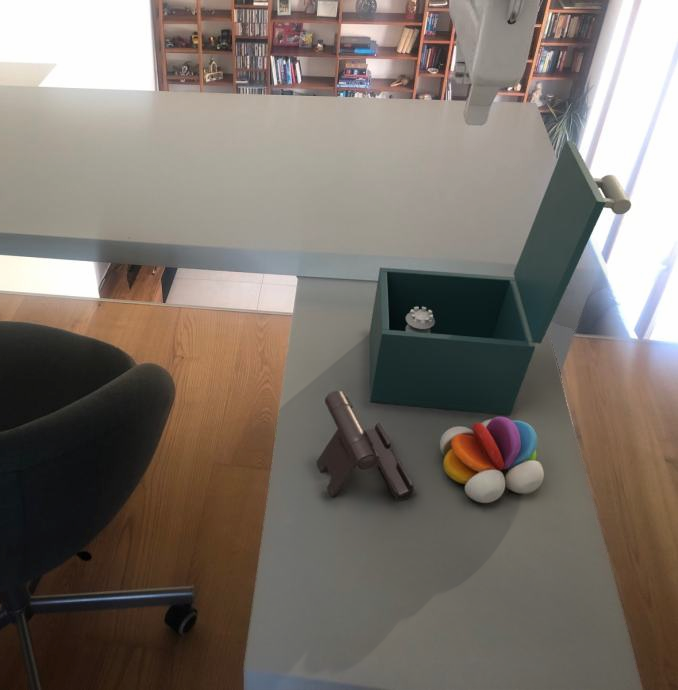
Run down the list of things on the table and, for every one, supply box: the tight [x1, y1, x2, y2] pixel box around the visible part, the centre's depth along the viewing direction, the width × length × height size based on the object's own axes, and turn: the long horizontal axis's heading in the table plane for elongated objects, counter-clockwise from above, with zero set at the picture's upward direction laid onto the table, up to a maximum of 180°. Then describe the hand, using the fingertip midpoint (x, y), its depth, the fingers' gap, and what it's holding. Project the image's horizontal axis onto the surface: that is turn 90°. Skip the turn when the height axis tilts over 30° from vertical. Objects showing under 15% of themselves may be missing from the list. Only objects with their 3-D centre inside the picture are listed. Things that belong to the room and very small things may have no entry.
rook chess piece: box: [406, 307, 435, 333], centre depth 81 cm, size 4×4×8 cm
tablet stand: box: [316, 390, 414, 501], centre depth 70 cm, size 9×8×8 cm
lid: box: [513, 139, 632, 344], centre depth 70 cm, size 16×13×5 cm
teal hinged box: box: [369, 267, 536, 416], centre depth 80 cm, size 16×13×10 cm
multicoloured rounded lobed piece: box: [439, 416, 545, 504], centre depth 70 cm, size 8×10×7 cm
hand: (467, 100), depth 63 cm, fingers open, 8 cm apart
